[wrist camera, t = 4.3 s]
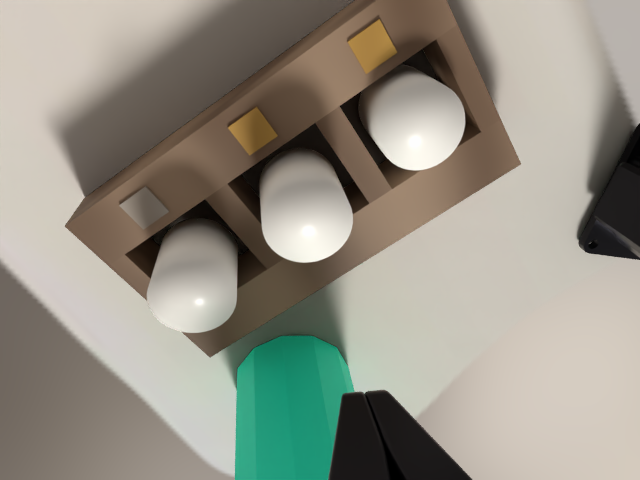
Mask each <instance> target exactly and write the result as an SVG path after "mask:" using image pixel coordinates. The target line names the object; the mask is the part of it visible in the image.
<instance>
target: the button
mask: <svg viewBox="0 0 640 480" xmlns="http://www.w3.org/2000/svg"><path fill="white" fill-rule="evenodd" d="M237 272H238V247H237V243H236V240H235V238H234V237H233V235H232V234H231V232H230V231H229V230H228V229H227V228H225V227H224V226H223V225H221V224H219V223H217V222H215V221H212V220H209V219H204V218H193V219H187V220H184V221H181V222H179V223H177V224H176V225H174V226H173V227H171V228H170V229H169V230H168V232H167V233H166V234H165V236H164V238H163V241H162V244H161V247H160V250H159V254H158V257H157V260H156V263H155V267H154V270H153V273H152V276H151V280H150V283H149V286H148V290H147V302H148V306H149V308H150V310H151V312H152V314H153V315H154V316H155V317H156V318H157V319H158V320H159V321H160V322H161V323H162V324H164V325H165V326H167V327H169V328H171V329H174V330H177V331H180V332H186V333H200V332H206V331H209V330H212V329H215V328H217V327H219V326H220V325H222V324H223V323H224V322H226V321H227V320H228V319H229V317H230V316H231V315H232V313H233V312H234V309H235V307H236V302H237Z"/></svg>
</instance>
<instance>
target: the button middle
mask: <svg viewBox="0 0 640 480" xmlns="http://www.w3.org/2000/svg"><path fill="white" fill-rule="evenodd" d="M259 191H260V206H261V222H262V231H263V235H264V238H265V240H266V242H267V244H268V245H269V246H270V248H271V249H272V250H273V251H274V252H276V253H277V254H278V255H280V256H281V257H283V258H285V259H288V260H291V261H295V262H303V263H307V262H315V261H319V260H322V259H325V258H327V257H329V256H331V255H332V254H334V253H335V252H337V251H338V250H339V249H340V248H341V247H342V246H343V245H344V244H345V242H346V241H347V239H348V237H349V235H350V233H351V230H352V225H353V213H352V209H351V206H350V204H349V201H348V199H347V197H346V195H345V192H344V190H343V188H342V186H341V183H340V181H339V179H338V177H337V174H336V172H335V170H334V168H333V166H332V164H331V163H330V162H329V161H328V160H327V159H326V158H325V157H324V156H323V155H321V154H320V153H318V152H316V151H313V150H311V149H306V148H293V149H288V150H285V151H283V152H281V153H279V154H277V155H275V156H274V157H273V158H272V159H271V160H270V161H269V162H268V163H267V164H266V166H265V167H264V169H263V171H262V173H261V176H260V181H259Z"/></svg>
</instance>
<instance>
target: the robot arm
mask: <svg viewBox="0 0 640 480" xmlns="http://www.w3.org/2000/svg"><path fill="white" fill-rule="evenodd" d="M592 240H593V241H592ZM591 241H592V243H590V242H591ZM589 243H590V244H589ZM579 246H580V248H581V249H583V250H584V251H585V252H587V253H591V254H599V255H607V256H614V257H622V258H630V259H638V260H640V124H638V126H637V127H636V129H635V131H634V133H633V135H632V137H631V139H630V141H629V143H628V145H627V147H626V149H625V151H624V153H623V154H622V156H621V158H620V160H619V162H618V164H617V166H616V168H615V170H614V172H613V174H612V176H611V178H610V180H609V182H608V184H607V186H606V188H605V190H604V192H603V194H602V196H601V198H600V200H599V202H598V204H597V206H596V208H595V210H594V212H593V214H592V216H591V218H590V220H589V222H588V223H587V225H586V227H585V229H584V231H583V233H582V235H581V237H580V239H579ZM328 480H472V479H471V478H470V477H469V476H468V475H467V473H465V471H463V469H462V468H461V467H460V466H459V465H458V464H457V463H456V462H455V461H454V460H453V459H452V458H451V457H450V456H449V455H448V454H447V453H446V452H445V450H444V449H443V448H442V447H441V446H440V445H439V444H438V443H437V442H436V441H435V440H434V439H433V438H432V437H431V436H430V435H429V434H428V433H427V432H426V431H425V430H424V428H423V427H421V425H420V424H419V423H418V422H417V421H416V420H415V419H414V418H413V417H412V416H411V415H410V414H409V413H408V412H407V411H406V410H405V409H404V407H403V406H402V405H401V404H400V403H399V402H398V401H397V400H396V399H395V398H394V397H393V396H392V395H391V394H390V393H389V392H388V391H386V390H377V391H368V392H366V393H365V394H364V393H363V392H351V393H344V394H343V395H342V397H341V403H340V409H339V416H338V422H337V428H336V434H335V440H334V446H333V452H332V458H331V465H330V471H329V477H328Z"/></svg>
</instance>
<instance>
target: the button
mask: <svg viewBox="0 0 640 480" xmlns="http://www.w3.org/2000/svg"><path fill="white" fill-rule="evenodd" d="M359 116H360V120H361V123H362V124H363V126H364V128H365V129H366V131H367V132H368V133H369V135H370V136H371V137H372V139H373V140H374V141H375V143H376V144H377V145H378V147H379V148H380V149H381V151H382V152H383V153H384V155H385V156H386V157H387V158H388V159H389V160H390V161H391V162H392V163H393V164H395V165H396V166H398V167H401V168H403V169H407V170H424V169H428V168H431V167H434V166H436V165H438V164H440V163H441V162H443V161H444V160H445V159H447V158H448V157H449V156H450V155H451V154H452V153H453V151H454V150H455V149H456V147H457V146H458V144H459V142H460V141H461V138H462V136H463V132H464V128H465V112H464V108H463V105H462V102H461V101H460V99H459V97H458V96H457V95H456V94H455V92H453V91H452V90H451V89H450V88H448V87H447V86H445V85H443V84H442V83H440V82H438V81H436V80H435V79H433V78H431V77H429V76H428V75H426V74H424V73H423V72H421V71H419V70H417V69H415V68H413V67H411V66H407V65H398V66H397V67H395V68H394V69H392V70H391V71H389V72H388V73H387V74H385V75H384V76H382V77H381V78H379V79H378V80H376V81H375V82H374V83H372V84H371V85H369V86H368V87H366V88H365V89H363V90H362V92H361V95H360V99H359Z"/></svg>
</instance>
